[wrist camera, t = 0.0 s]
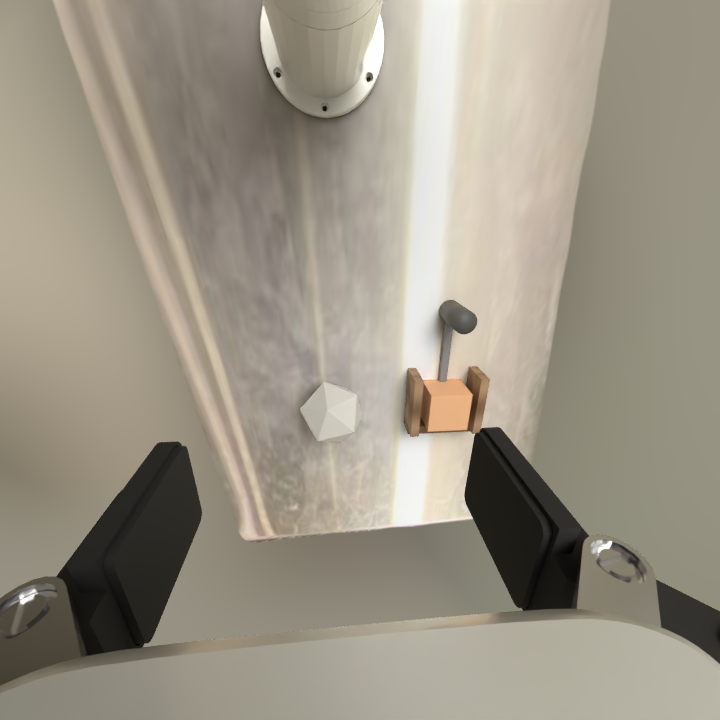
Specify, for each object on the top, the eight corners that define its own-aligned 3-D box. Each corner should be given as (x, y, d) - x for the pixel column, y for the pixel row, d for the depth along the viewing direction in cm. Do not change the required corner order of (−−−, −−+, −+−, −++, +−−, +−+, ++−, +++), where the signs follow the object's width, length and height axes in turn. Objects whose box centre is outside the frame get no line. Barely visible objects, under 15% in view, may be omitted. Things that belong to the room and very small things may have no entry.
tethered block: (430, 300, 47) (443, 311, 42) (471, 299, 48) (490, 311, 42) (419, 413, 54) (429, 435, 49) (455, 412, 55) (469, 433, 49)
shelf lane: (408, 368, 51) (415, 381, 47) (476, 366, 52) (489, 379, 48) (403, 423, 55) (410, 439, 51) (468, 420, 56) (479, 436, 52)
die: (310, 425, 54) (347, 463, 48) (278, 405, 48) (318, 447, 42) (343, 386, 55) (384, 419, 49) (317, 361, 49) (360, 396, 43)
